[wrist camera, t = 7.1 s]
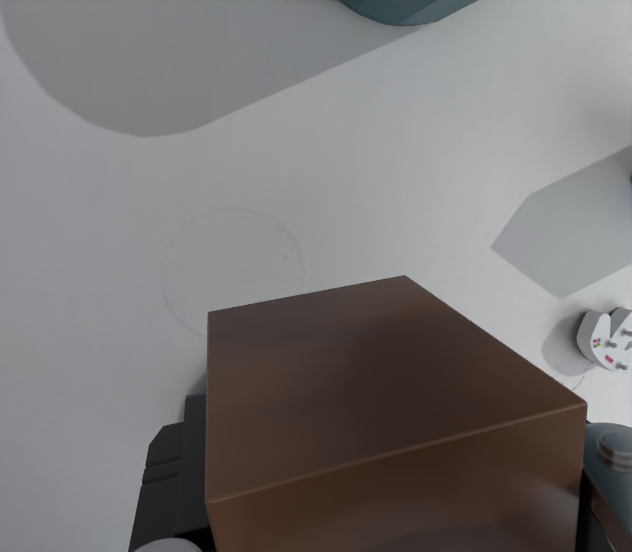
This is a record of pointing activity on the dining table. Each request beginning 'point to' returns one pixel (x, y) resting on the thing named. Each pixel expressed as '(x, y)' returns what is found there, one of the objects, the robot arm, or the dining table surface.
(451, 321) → the block
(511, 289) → the dining table surface
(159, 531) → the robot arm
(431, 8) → the tin
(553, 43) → the dining table surface
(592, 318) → the game controller
